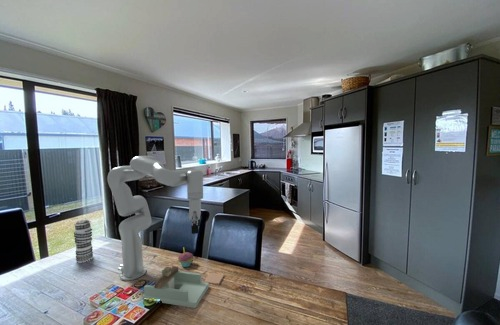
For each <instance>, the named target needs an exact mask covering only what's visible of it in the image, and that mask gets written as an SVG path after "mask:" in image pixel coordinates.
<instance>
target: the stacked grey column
mask: <svg viewBox="0 0 500 325" xmlns="http://www.w3.org/2000/svg"><path fill="white" fill-rule="evenodd" d="M91 223H92V222H91V221H90V220H89V219H81V220H78V221H76V223H74V228H75V229H74V232H73V237H74V243H75V246H76V247H75V260H76V261H75V262H76V263H77V262H78V263H77V264H83V263H87V262H89V261H91V260H92V259H94V251H93V244H92V240H93V237H92V236H93V232H92V231H93V228H92V227H91ZM90 259H91V260H90ZM88 260H89V261H88ZM86 261H87V262H86ZM82 262H83V263H82Z"/></svg>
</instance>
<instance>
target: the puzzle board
mask: <svg viewBox="0 0 500 325" xmlns="http://www.w3.org/2000/svg"><path fill="white" fill-rule="evenodd" d="M162 276H163V269H162V270H161V277H162ZM173 277H174V284H175V289H173V288H166V287H162V288H161V289H158V288H155V285H154V284H153V285H149V284H145V285H144V286H143V289H144V290H143V291H144V293H143V294H142V299H143V298H154V299H160V300H161V301H162V304H167V305H168V304H169V305H174V306H175V305H176V306H179V307H180V306H181V307H187V308H194V309H196V308H197V307H198V305H199V304H200V302H201V300H202V299H203V297H204V296H205V295H206V292H208V289H209V288H210V283H205V282H204V281H202V273H197V272H189V271H183V270H182V271H180V270H178V272H177V273H176V274H175V275H174V276H173Z"/></svg>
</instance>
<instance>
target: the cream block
mask: <svg viewBox="0 0 500 325" xmlns="http://www.w3.org/2000/svg"><path fill="white" fill-rule="evenodd" d="M163 287H166V288H173V289H175V284H174V277H172V278H171V279H170V280H169V281H168V282H167V283H166V284H165V285H164V286H163Z"/></svg>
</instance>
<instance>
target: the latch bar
mask: <svg viewBox="0 0 500 325" xmlns="http://www.w3.org/2000/svg"><path fill="white" fill-rule="evenodd" d="M162 270H163V276H162V275H161V277H160V278H158V280H157V281H155V283H154V284H153V285H155V288H158V289H161V288H162V287H163V286H164V285H165V284H166V283H167V282H168V281H169V280H170V279H171V278H172V277H173V276H174V275H175V274H176V273H177V272H178V271H179V266H175V265H173V266H171V267H169V266H166V267H165V268H163V269H162Z"/></svg>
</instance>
